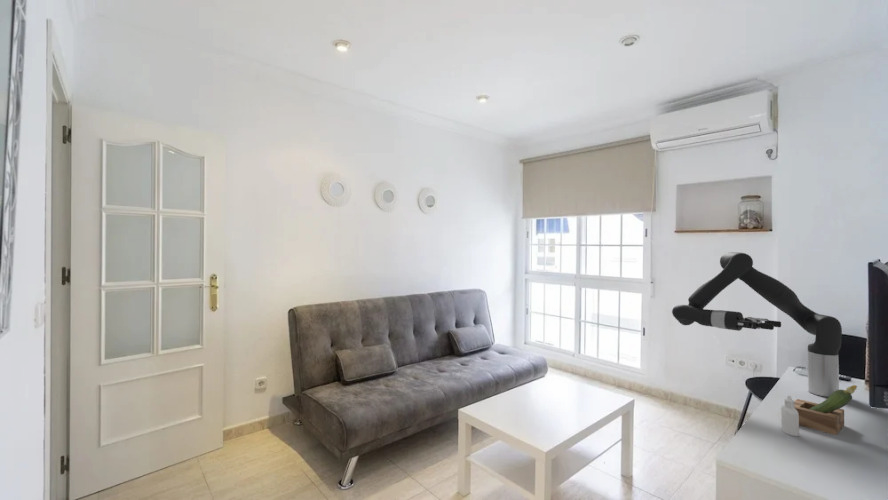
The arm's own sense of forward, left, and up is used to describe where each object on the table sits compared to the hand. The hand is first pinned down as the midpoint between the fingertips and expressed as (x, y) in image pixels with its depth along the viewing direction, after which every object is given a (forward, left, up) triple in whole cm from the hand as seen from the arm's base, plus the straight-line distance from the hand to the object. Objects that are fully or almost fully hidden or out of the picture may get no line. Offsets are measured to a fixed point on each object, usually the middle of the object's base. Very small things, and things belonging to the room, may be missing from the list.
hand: (777, 325), depth 145 cm
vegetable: (+4, +9, -31) cm, 33 cm away
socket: (+4, +11, -32) cm, 34 cm away
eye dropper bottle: (+20, +8, -32) cm, 39 cm away
